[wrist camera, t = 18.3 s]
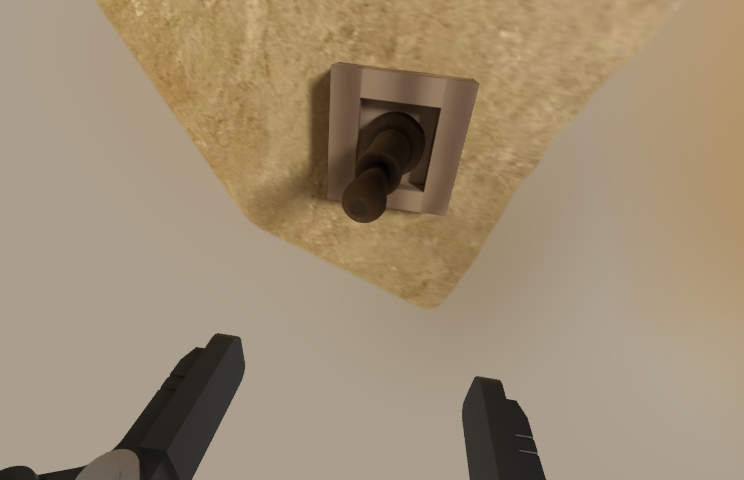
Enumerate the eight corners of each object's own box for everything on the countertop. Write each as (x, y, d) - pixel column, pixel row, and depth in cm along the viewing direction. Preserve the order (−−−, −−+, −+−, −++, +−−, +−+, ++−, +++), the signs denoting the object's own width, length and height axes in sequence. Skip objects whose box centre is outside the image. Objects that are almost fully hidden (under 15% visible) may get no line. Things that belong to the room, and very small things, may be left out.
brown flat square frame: (334, 184, 42) (326, 199, 38) (340, 61, 34) (330, 64, 30) (442, 199, 41) (445, 215, 37) (472, 78, 34) (479, 83, 30)
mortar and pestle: (375, 176, 38) (330, 258, 23) (358, 120, 35) (294, 172, 20) (430, 162, 36) (422, 243, 21) (417, 103, 33) (396, 145, 18)
